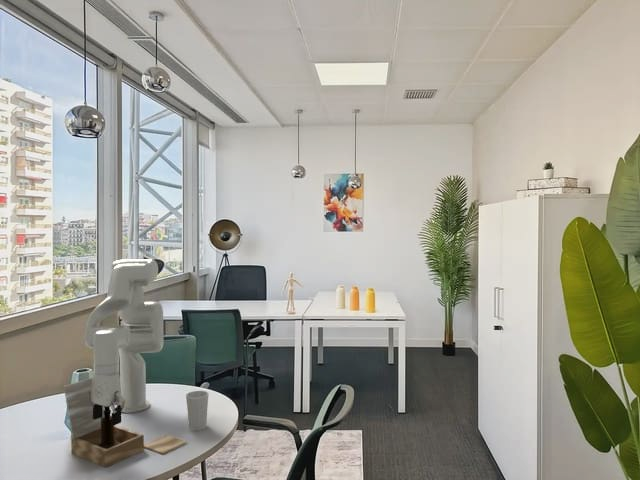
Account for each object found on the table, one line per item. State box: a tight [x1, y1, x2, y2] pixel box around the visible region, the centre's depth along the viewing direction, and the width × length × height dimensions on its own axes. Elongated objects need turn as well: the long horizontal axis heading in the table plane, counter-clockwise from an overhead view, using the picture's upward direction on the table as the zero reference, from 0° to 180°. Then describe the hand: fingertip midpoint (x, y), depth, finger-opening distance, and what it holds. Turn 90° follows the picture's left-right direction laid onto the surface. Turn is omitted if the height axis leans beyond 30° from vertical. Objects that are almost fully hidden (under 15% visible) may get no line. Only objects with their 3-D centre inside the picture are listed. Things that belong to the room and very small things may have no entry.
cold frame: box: [63, 377, 145, 468], centre depth 168 cm, size 22×14×22 cm, turn 58°
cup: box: [185, 390, 209, 431], centre depth 187 cm, size 8×8×12 cm
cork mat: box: [144, 434, 187, 455], centre depth 172 cm, size 10×10×1 cm
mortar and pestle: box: [97, 406, 119, 449], centre depth 167 cm, size 7×6×18 cm
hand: (107, 421), depth 166 cm, fingers open, 9 cm apart
